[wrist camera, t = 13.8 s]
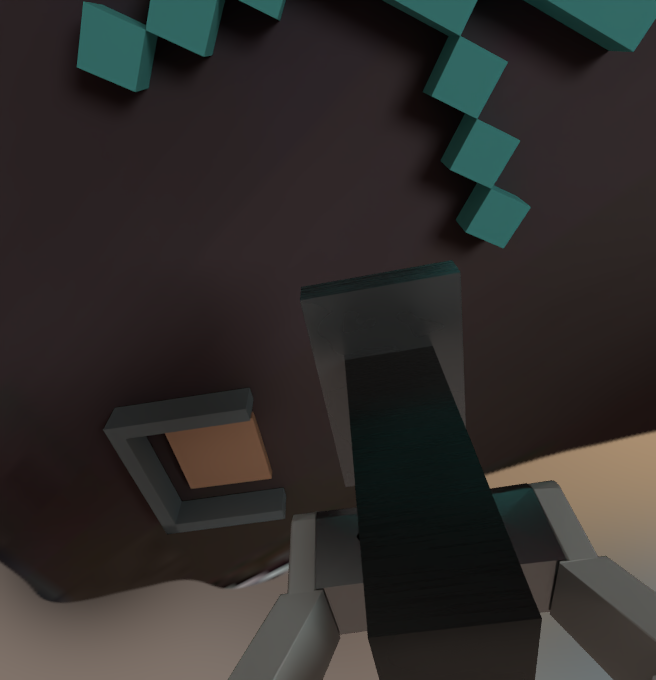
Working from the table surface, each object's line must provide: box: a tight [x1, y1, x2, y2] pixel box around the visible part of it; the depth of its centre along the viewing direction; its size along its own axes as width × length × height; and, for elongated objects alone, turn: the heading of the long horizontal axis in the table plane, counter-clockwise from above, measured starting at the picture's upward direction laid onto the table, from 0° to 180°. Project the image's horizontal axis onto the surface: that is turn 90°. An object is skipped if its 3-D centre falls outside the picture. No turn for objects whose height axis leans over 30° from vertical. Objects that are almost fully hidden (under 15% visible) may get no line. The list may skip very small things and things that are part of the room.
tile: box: [165, 412, 272, 489], centre depth 32 cm, size 6×6×1 cm
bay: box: [103, 388, 286, 534], centre depth 31 cm, size 9×11×2 cm
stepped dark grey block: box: [300, 260, 542, 680], centre depth 10 cm, size 4×7×8 cm, turn 10°
